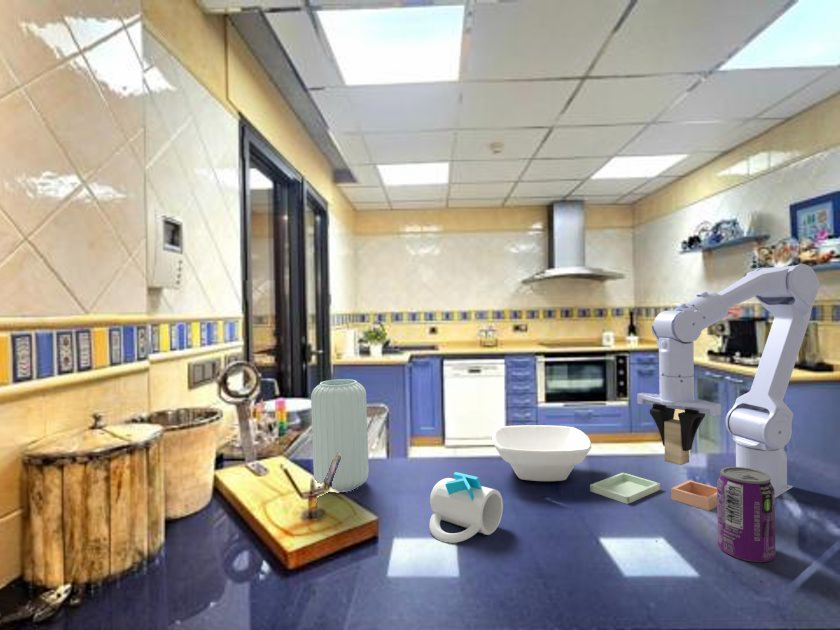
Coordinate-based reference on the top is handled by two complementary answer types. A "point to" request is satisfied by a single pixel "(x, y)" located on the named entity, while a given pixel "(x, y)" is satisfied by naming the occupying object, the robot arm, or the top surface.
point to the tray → (625, 487)
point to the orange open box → (695, 495)
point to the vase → (340, 432)
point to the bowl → (541, 450)
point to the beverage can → (746, 514)
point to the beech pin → (674, 443)
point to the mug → (464, 507)
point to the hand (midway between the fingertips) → (677, 447)
